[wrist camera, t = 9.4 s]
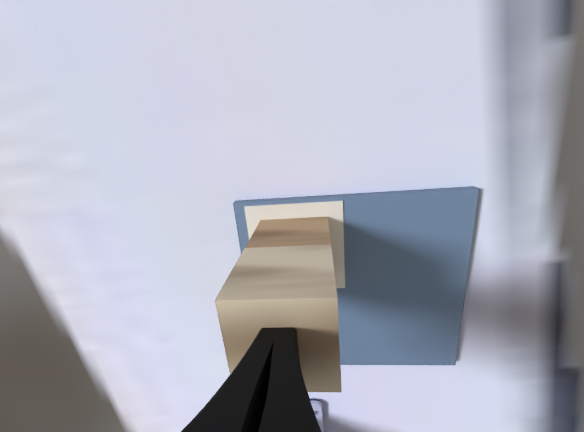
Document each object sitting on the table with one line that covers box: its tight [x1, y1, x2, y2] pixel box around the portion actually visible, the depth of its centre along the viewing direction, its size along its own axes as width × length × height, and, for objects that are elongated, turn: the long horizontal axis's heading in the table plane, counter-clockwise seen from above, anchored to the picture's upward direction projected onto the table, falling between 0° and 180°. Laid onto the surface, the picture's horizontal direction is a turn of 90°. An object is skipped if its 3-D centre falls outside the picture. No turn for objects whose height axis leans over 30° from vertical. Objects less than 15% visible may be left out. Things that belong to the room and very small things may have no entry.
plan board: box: [233, 186, 479, 365], centre depth 20 cm, size 14×16×1 cm
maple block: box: [215, 244, 341, 392], centre depth 13 cm, size 4×4×4 cm
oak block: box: [245, 216, 331, 248], centre depth 17 cm, size 4×4×4 cm
